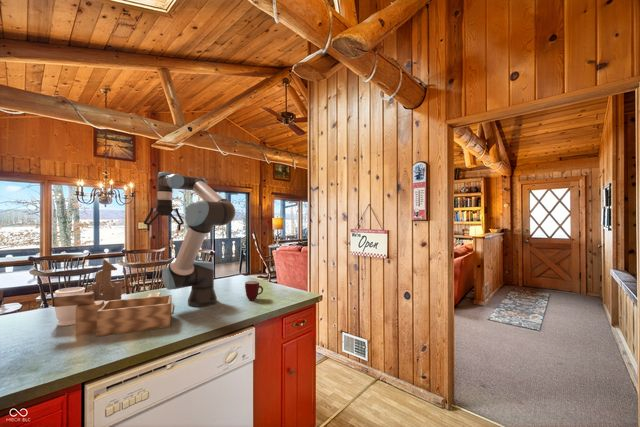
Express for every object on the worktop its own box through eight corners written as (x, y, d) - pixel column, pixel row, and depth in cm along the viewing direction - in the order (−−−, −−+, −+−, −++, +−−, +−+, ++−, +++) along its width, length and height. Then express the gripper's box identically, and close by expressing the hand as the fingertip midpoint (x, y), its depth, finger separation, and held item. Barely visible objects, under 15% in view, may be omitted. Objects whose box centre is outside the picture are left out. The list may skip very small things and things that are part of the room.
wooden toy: (84, 311, 148) (85, 261, 148) (86, 307, 153) (87, 259, 154) (120, 306, 156) (121, 259, 156) (121, 303, 161) (122, 258, 162)
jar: (48, 325, 128) (49, 290, 128) (75, 317, 138) (75, 285, 138) (63, 328, 124) (64, 293, 125) (90, 320, 134) (90, 287, 134)
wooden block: (94, 301, 125) (94, 291, 125) (91, 303, 121) (91, 294, 121) (58, 304, 119) (58, 294, 120) (54, 307, 116) (54, 297, 116)
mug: (259, 296, 178) (259, 279, 178) (265, 299, 172) (265, 282, 172) (242, 298, 172) (243, 281, 172) (247, 302, 166) (248, 284, 166)
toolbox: (171, 315, 142) (171, 291, 142) (169, 326, 128) (170, 300, 128) (84, 325, 128) (84, 299, 128) (71, 339, 113) (71, 310, 113)
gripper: (188, 200, 175) (187, 235, 175) (140, 199, 164) (139, 236, 164) (189, 200, 168) (188, 236, 168) (138, 198, 157) (137, 237, 157)
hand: (164, 236), depth 166 cm, fingers open, 13 cm apart
